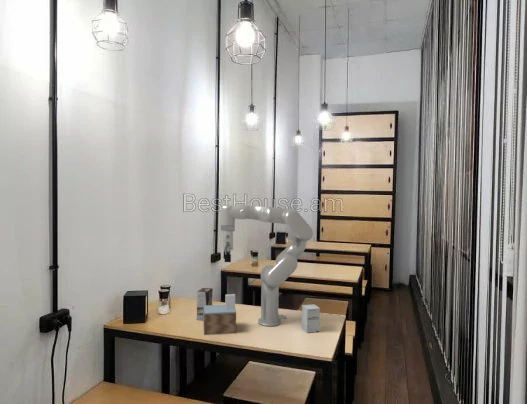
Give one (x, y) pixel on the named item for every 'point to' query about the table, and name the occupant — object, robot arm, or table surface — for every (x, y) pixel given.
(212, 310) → the lid
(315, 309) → the supplement box
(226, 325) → the walnut box
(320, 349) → the table surface
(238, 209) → the robot arm
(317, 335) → the table surface
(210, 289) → the coffee box
